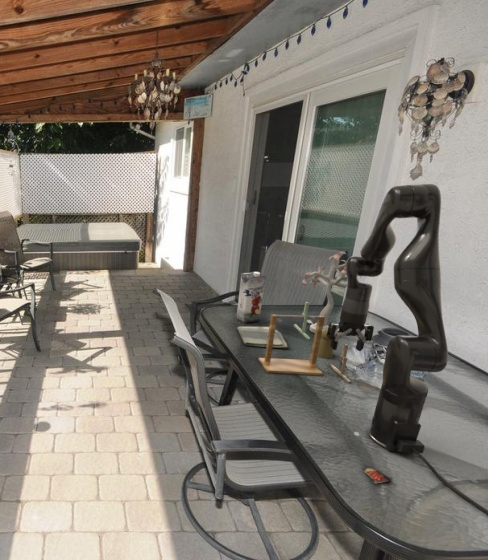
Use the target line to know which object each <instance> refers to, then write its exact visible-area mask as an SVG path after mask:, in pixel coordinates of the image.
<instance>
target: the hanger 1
mask: <svg viewBox="0 0 488 560" xmlns="http://www.w3.org/2000/svg"><path fill="white" fill-rule="evenodd" d="M309 307H310V302H308V301H305V303H304V308H303V312H302V313H301V316H304V319H303V323H302V328H301V327H299V325H298V324H297V323H294V324H293V327H294V328H295V329H296V330H297V331H298V332H299V333H300V334H301V335H302V336H303V337H304V338H305V339H306V340H307V341H310V340H311V337H310V336H309V335H308V334H307V333H306V328H307V324H308V322H307V320H308V319H307V318H308V316H309V315H308V312H309Z"/></svg>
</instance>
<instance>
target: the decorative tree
mask: <svg viewBox="0 0 488 560" xmlns="http://www.w3.org/2000/svg"><path fill="white" fill-rule="evenodd" d="M341 254H344V255H347V253H346V252H343V251H340V252H337V253H335V254H333V255H331V256H330V257H328V262H329V263H330V261H331V259H332V258H334V263H333V264H332V266H331V267H330V270H329V273H328V274H327V275H325V274H324V269H325V271H327V268H326V267H324V266H316V269H317V270H318V271H313V272H311V271H308V272H306V273H305V275H304V278H303V280H302V281H301V282H302V285H304V286H307V284H308V282H307V280H308V279H310V278H311V277H314V278H312V279H311V281H310V282H309V283H310V284H312V283H313V286H312V287H313V288H314V289H316V290H319V288H318V285H317V283H321V284H322V285H323V286H324V287H326V289H325V290H326V291H325V292H326V297H327V304H326V305H325V306H324V308H323V309H322V310H321V311H320V313H319V316H324V317H325V319H324V325H323V330H328V327H329V324H328V322H329V317H330V315H331V313H332V311H333V309H334V306H335V301H334V299H333V296H332V295H333V294H332V287H333V286H336V287H338V288H347V282H343V280H344V279H345V277H346V274H347V273H346V261H347V260H345V259H341ZM341 261H342V262H344V264H340V262H341ZM342 268H343V269H342ZM335 272H336V273H337V276H335ZM334 276H335V277H334ZM359 277H360V278H362V276H359ZM326 280H327V281H326ZM307 324H309V331H310V332H311V333H313V334H315V331H316V325H317V322H315V323H314V322H313V321H311V319H307ZM323 330H322V331H323Z"/></svg>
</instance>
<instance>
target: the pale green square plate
mask: <svg viewBox="0 0 488 560" xmlns="http://www.w3.org/2000/svg"><path fill="white" fill-rule="evenodd" d="M269 327H270V326H238V327H237V328H236V329H237V331H238V333H239V336H240V338H241V340H242V342H243V344H244V345H245V346H249V347H258V348H267V341H268V334H269ZM288 348H289V346H288V344H287V342H286V340H285V338H284V337H283V335H282V333H281V331H278V330H277V329H275V334H274V341H273V347H272V349H286V350H287V349H288Z"/></svg>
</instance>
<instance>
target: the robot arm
mask: <svg viewBox="0 0 488 560" xmlns="http://www.w3.org/2000/svg"><path fill="white" fill-rule="evenodd" d="M441 209H442V195H441V190H440V188H439V187H438V185H437V184H434V183H417V184H416V183H415V184H400V185H394V186H392V187H390V188H389V189H388V190H387V192H386V193H385V194H384V196H383V199H382V201H381V204H380V207H379V209H378V212H377V215H376V217H375V220H374V223H373V226H372V229H371V232H370V234H369V235H368V238H367V239H366V241H365V242H364V244H363V245H362V247H361V249H360V253H359V254H360V255H352V256H350V257H348V259H347V260H345V261H346V270H345V271H346V273H345V274H346V277H347V278H346V279H347V281H346V283H347V287H346V292H345V296H344V299H343V301H342V306H341V311H340V315H339V316H340V317H339V322H338V323H333V322H329V324H328V326H329V327H328V331H327V335H326V336H327V337H328V338H329V339H331V344H330V346H331V348H332V349H333V351H337V349H338V346H339V340H341V339H343V338H345V337H350V336H351V337H357V341H356V346H355V350H357V352H362V351H363V350H364V347H365V343H366V342H372V340H373V335H374V329H375V328H374V326H373V325H372V324H370V323H367V319H368V314H369V309H370V301H371V297H372V292H373V285H372V283H369V282H366V281H363V280H359V279H358V277H360V276H361V277H369V278H374V277H379V276H380V275H382V274H383V273H384V270H385V263H386V259H387V257H388V256H389V254H390V252H391V251H392V250H393V248H394V247H395V245H396V241H397V237H396V234H395V231H394V228H393V227H392V222H394V220H395V219H416V228H415V232H414V235H413V237H412V239H411V240H410V242H409V243H408V245H406V246H405V248H404V249H403V250H402V251H401V253H400V254H399V255H398V257H397V258H396V259H395V262H394V264H393V286H394V290H395V292H396V294H397V295H398V297H399V298H400V299H401V301H402V303H404V304H405V306H406V307H407V308H408V309H409V311H410V312H411V313H412V315H413V318H414V319H415V323H416V326H417V334H418V335H416V336H415V335H395V336H394V335H393V337H391V338H390V340H389V341H388V344H387V346H386V351H385V357H384V363H383V368H382V381H381V386H380V389H379V393H378V398H377V401H376V405H375V408H374V413H373V415H372V419H371V421H370V422H371V423H370V428H369V431H368V437H369V438H370V439H371V441H373V442H374V443H376V444H377V445H378V446H380V447H382V448H384V449H386V451H387V452H392V453H407V454H415V455H416V456H417V457H418V458H419V459H420V460H421V461H422V462H423V463H424V464H425V465H426V466H427V467H428V468H429V470H430V471H431V472H432V474H433V475H434V476H435V477H436V478H437V479H438V480H439V481H441V482H442V484H444V485H445V486H446V487H447V488H449V489H450V490H451V491H452V492H454V493H456V494H457V495H458V496H459V497H461V498H463V499H464V500H465V501H467V502H469V503H470V505H473V506H474V507H475V508H477V509H478V510H480V511H482V512H483V513H484V514H486V515H488V509H487V508H485V507H483V506H482V505H481V504H479V503H477V502H476V501H475V500H473V499H471V498H470V497H469V496H467V495H465V494H464V493H463V492H461V491H460V490H458V489H457V488H456V487H455V486H453V485H451V484H450V483H449V482H448V481H447V480H446V479H445V478H444V477H442V476H441V475H440V473H438V472H437V470H436V469H435V468H434V467H433V465H432V464H431V463H430V462H429V461H428V460H427V459H426V458H425V457H424V456H423V455H422V454H424V450H425V447H426V446H425V444H424V443H422V441H420V440H419V439H418V437H419V435H420V431H421V428H422V425H421V423H420V419H421V416H422V412H423V409H424V406H425V403H426V400H427V397H428V393H429V387H428V386H427V384H426V383H425V382H423V381H422V380H421V379H418V378H417V377H415V376H412V375H411V373H412V372H425V373H440V372H442V371H444V370H445V369H446V367H447V365H448V361H449V347H448V342H447V337H446V331H445V325H444V318H443V308H442V273H441V260H440V225H441V224H440V223H441V211H442V210H441ZM363 331H364V333H362V332H363Z"/></svg>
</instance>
